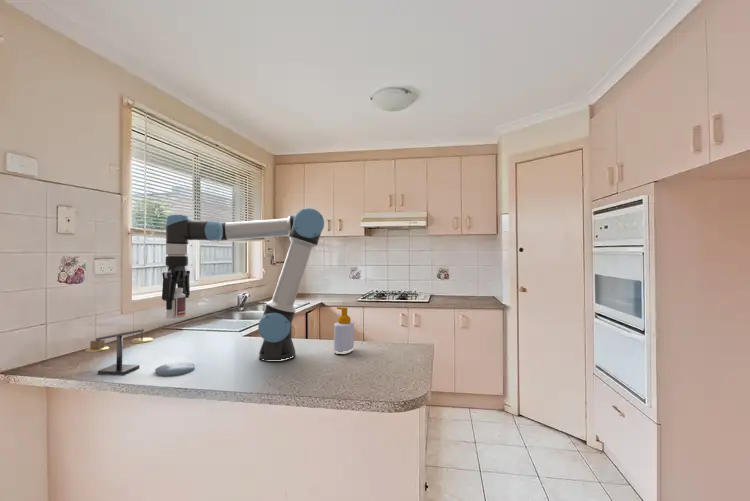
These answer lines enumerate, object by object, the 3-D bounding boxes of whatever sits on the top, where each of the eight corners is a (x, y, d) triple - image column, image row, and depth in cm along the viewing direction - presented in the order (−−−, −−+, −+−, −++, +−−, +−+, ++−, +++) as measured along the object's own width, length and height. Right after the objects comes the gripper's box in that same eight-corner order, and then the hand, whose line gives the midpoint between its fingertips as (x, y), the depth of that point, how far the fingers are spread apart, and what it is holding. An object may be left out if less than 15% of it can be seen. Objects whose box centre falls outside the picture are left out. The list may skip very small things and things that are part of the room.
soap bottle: (341, 347, 177) (341, 305, 177) (357, 349, 175) (357, 306, 175) (329, 354, 165) (330, 309, 165) (346, 356, 162) (347, 310, 162)
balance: (157, 368, 142) (158, 327, 142) (142, 375, 134) (143, 331, 134) (97, 366, 143) (97, 325, 143) (79, 373, 135) (79, 329, 135)
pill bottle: (184, 315, 144) (184, 287, 144) (186, 317, 139) (186, 288, 139) (166, 316, 141) (166, 287, 141) (167, 319, 136) (167, 289, 136)
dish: (201, 365, 146) (201, 362, 146) (181, 377, 133) (181, 373, 133) (169, 364, 147) (169, 361, 147) (147, 375, 134) (147, 372, 134)
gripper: (182, 255, 150) (181, 312, 150) (150, 255, 131) (149, 320, 131) (200, 255, 149) (199, 312, 149) (170, 255, 130) (169, 321, 130)
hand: (176, 316), depth 140 cm, fingers closed on pill bottle, 6 cm apart
